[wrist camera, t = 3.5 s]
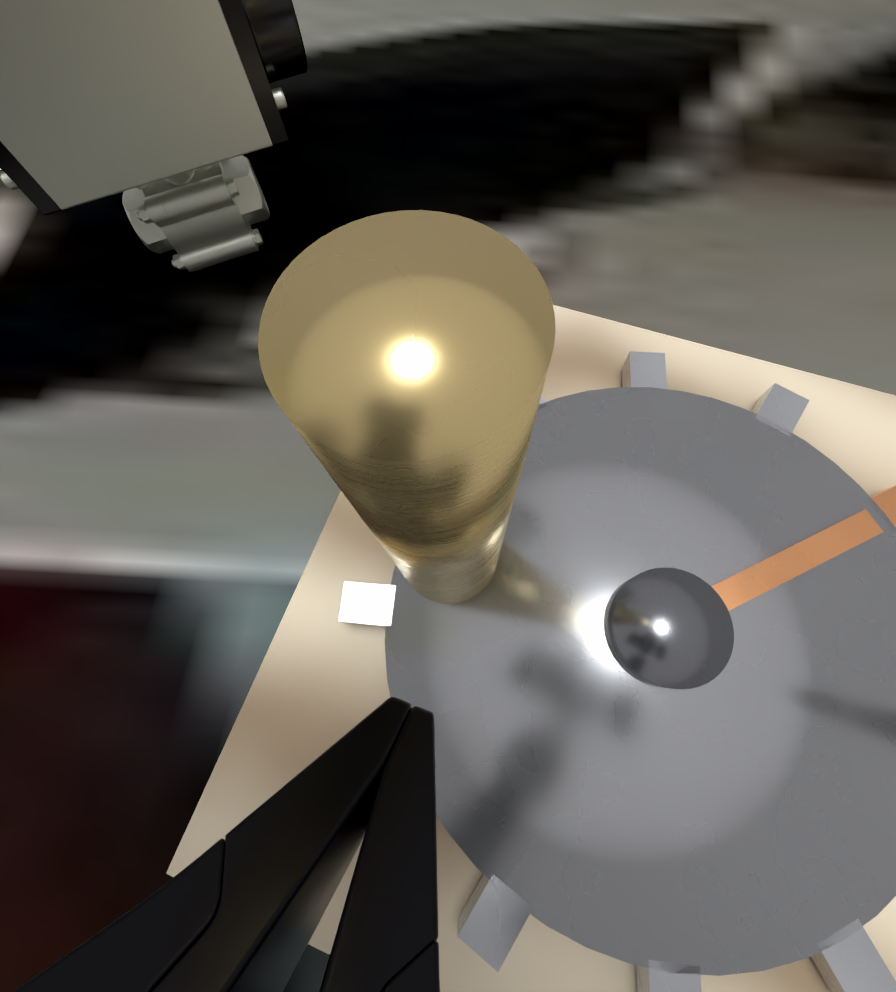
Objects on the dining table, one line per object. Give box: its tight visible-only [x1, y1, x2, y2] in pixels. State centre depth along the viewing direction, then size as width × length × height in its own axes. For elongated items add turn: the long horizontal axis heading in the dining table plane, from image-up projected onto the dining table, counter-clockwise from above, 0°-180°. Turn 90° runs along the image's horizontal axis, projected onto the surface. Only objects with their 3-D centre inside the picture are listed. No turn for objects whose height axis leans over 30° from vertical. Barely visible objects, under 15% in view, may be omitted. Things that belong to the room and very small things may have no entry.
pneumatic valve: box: [0, 0, 307, 272], centre depth 17 cm, size 6×12×12 cm, turn 111°
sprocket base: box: [166, 305, 896, 992], centre depth 15 cm, size 22×22×3 cm
